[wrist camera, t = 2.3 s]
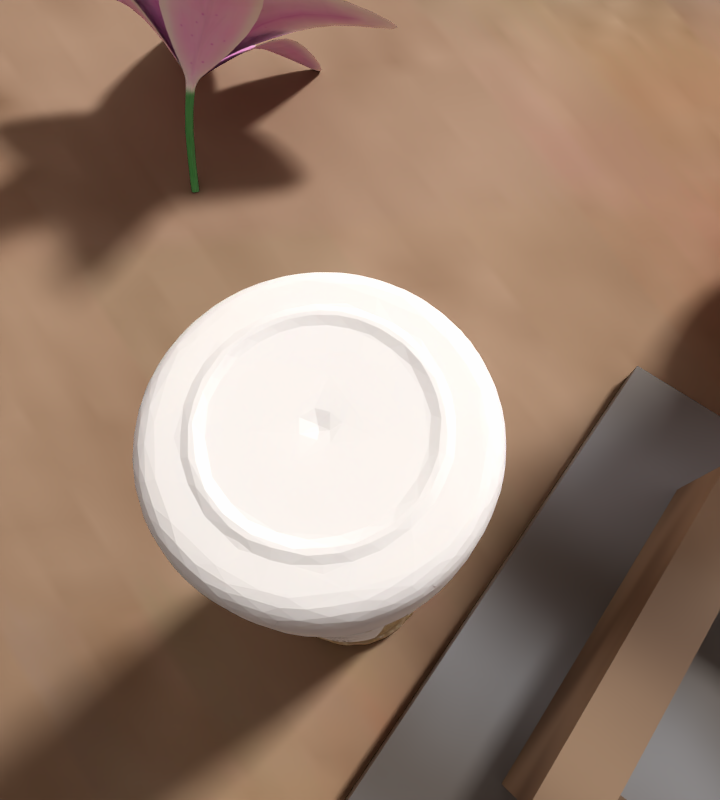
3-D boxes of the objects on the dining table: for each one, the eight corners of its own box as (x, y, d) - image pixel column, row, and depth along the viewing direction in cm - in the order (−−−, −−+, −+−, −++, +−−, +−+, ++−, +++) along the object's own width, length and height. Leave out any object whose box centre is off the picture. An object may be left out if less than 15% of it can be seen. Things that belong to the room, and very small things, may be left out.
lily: (420, 182, 27) (444, -113, 21) (182, 277, 20) (115, -123, 14) (237, 121, 33) (215, -120, 27) (7, 177, 26) (-90, -129, 20)
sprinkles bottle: (454, 572, 20) (598, 433, 7) (345, 681, 19) (296, 736, 6) (354, 467, 21) (331, 196, 9) (247, 564, 20) (43, 415, 8)
